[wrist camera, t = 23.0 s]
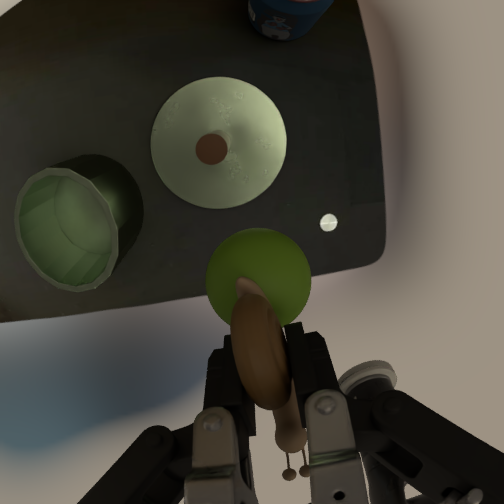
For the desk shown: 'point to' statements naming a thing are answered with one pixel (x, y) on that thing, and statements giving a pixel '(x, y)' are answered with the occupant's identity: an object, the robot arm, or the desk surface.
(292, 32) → the soda can
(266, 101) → the pot lid
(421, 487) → the robot arm
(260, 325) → the snail figurine
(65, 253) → the pot
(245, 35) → the desk surface
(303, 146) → the desk surface
